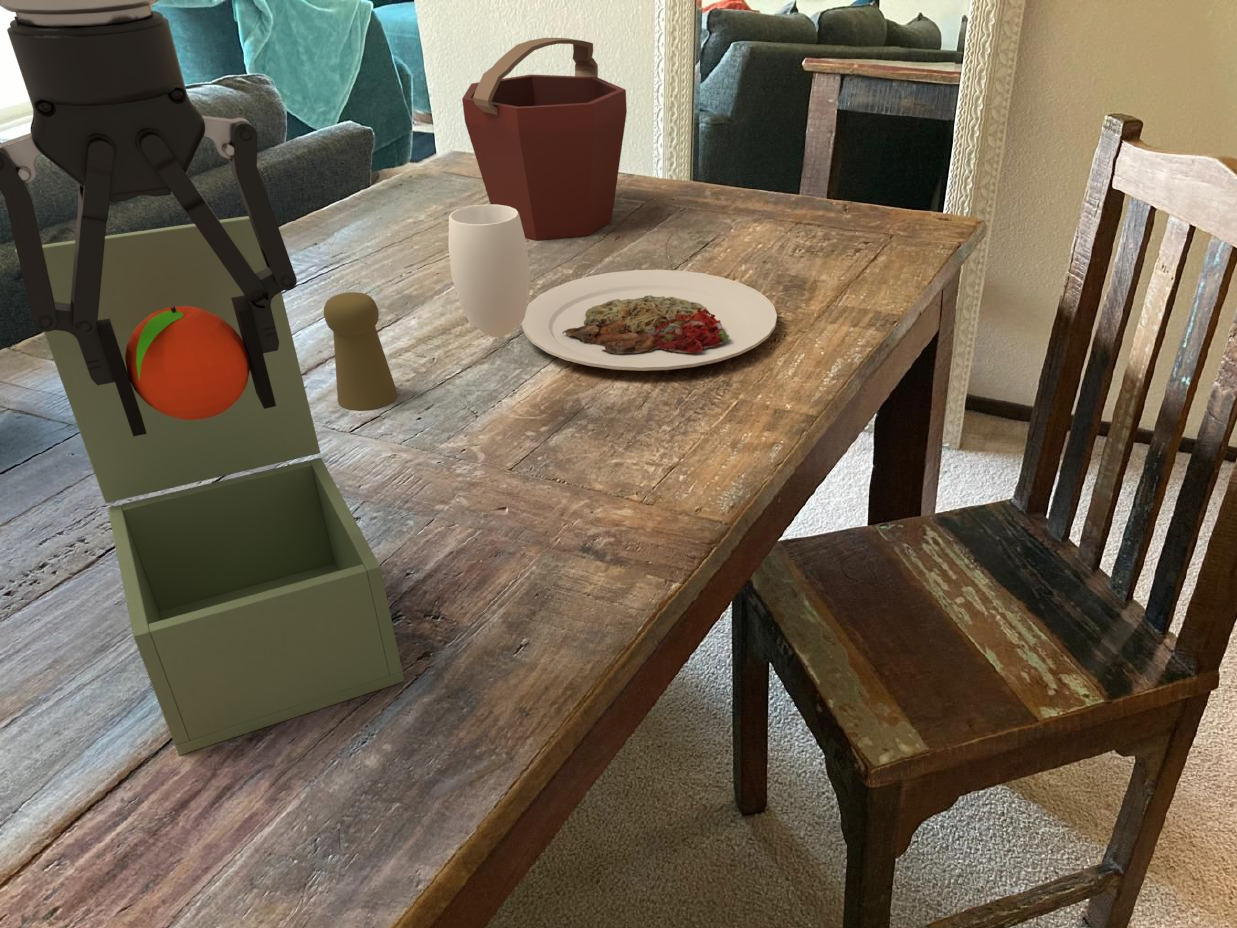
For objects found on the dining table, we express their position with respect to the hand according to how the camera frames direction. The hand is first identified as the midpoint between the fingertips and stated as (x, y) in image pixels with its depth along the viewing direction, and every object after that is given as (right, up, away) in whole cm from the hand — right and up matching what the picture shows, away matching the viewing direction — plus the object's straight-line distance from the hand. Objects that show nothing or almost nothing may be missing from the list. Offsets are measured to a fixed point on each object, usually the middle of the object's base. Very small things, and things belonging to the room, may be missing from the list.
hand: (203, 412), depth 69 cm
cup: (+11, +4, +41) cm, 43 cm away
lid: (-4, +4, +6) cm, 9 cm away
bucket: (+7, +40, +94) cm, 103 cm away
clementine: (0, -1, 0) cm, 1 cm away
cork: (-5, +7, +45) cm, 46 cm away
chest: (0, -16, +11) cm, 19 cm away
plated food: (+24, +17, +61) cm, 68 cm away
